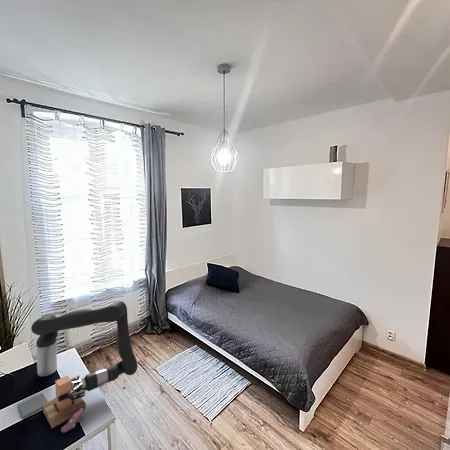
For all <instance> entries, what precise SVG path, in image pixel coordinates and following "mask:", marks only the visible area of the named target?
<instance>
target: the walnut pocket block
mask: <svg viewBox="0 0 450 450" xmlns="http://www.w3.org/2000/svg"><path fill="white" fill-rule="evenodd" d="M71 391H72V390H71ZM76 396H77V395H76ZM76 396H73V397H76ZM47 401H48V402H46V403H44V404H42V409H41V411H42V412H43V414H44V416H45V418H46V419H47V422H48V424H49V426H50V427H51V429H54V428H56V427H58V425H61V424H62V423H64V422H66V421H69V420H70V419H71V418H72V416H73V415H74V414H75V413H76V412H77V411H78V410H80V409H81V408H84V409H86V410H87V403H86V402H85V401H84V399H83V397H81V398H78V399H75V400H72V406H70V407H68V408H66V409H64V410H62V411H61V412H59V413H58V412H57V410H56V397H55V398H52V399H50V400H47Z"/></svg>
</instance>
